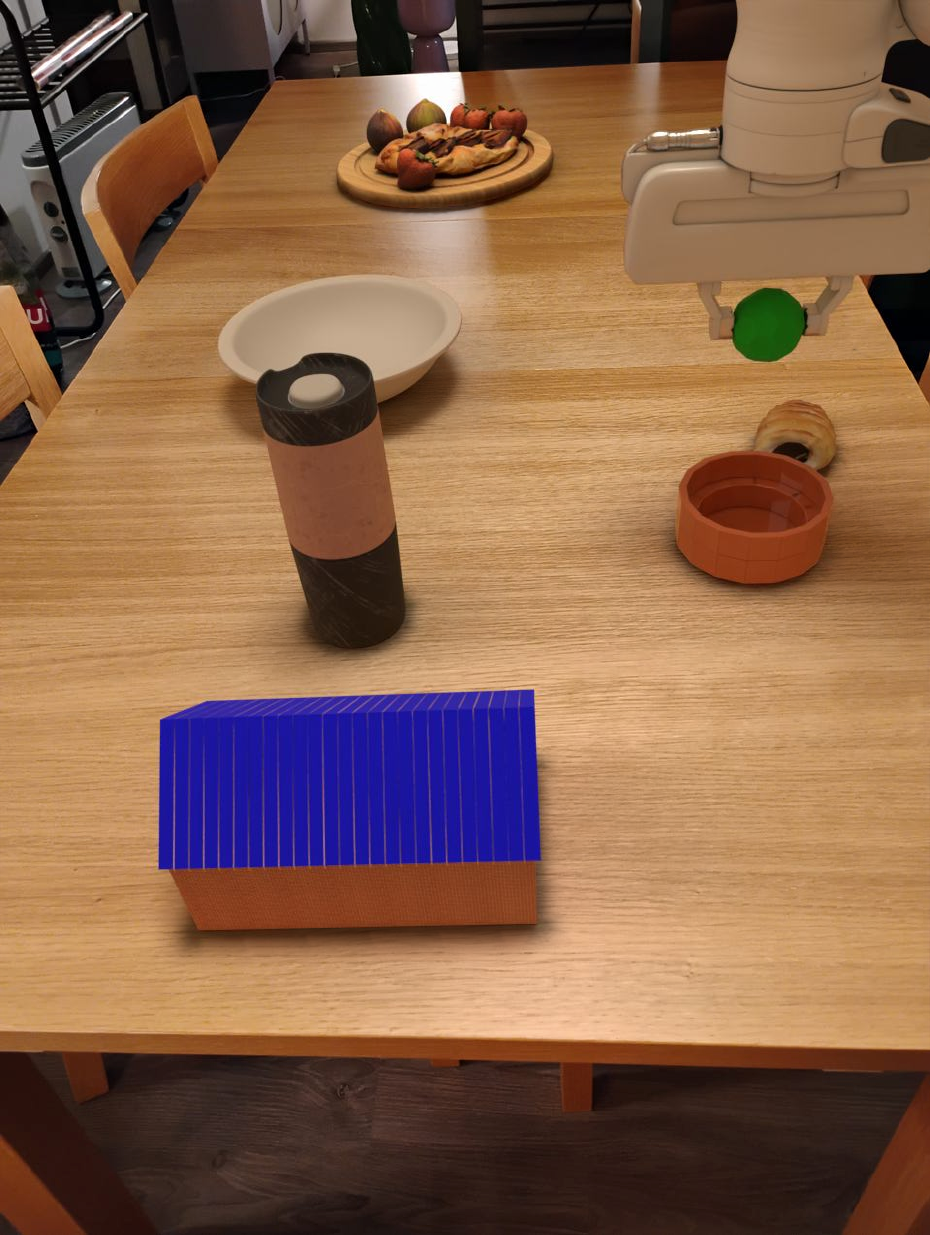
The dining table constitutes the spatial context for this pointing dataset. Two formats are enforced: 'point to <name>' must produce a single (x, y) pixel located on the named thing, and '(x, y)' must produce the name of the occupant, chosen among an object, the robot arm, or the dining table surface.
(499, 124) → the wooden plate
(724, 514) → the dessert bowl
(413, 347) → the soup bowl
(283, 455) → the travel mug
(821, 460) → the pastry
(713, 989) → the dining table surface
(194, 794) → the house
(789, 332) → the polyhedron
